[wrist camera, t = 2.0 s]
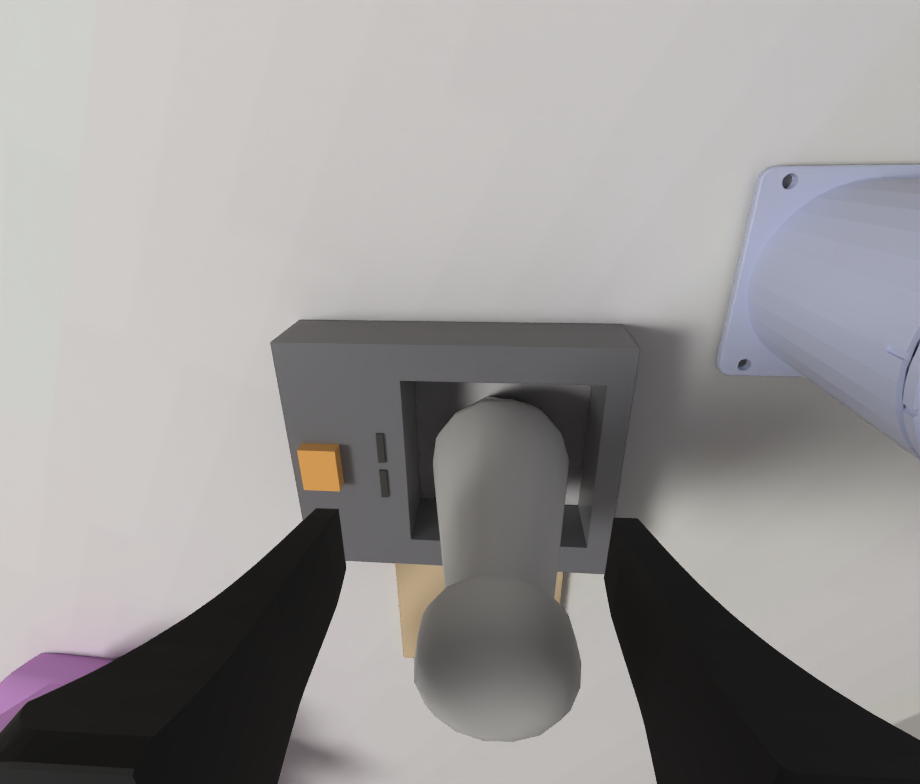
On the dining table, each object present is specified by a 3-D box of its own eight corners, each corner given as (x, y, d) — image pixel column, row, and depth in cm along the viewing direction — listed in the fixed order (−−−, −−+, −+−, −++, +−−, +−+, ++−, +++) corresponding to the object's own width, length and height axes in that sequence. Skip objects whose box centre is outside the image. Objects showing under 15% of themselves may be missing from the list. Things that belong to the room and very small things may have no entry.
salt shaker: (449, 367, 22) (388, 597, 11) (575, 389, 22) (653, 645, 11) (433, 473, 25) (368, 754, 13) (545, 493, 25) (582, 793, 13)
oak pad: (564, 543, 26) (565, 550, 26) (552, 659, 30) (553, 667, 29) (395, 535, 27) (393, 542, 26) (405, 650, 31) (403, 657, 30)
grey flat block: (622, 323, 21) (644, 354, 18) (595, 530, 25) (608, 584, 22) (299, 319, 22) (263, 347, 19) (329, 518, 27) (305, 567, 23)
